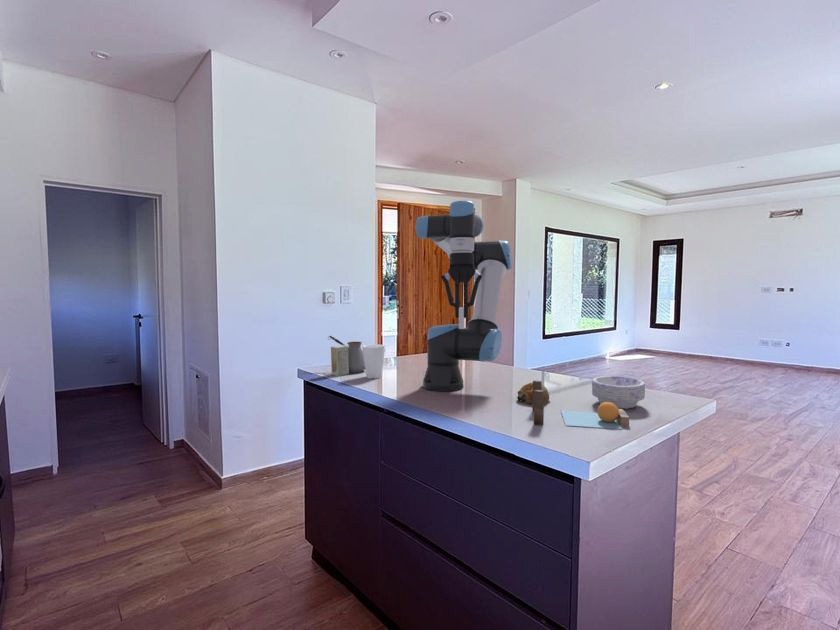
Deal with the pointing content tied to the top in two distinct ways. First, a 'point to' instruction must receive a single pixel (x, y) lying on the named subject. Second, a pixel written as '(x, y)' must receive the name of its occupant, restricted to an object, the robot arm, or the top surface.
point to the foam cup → (373, 359)
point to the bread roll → (531, 394)
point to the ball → (608, 412)
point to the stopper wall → (623, 418)
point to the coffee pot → (354, 356)
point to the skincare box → (339, 360)
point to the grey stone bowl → (618, 390)
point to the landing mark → (587, 420)
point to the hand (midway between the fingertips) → (461, 328)
